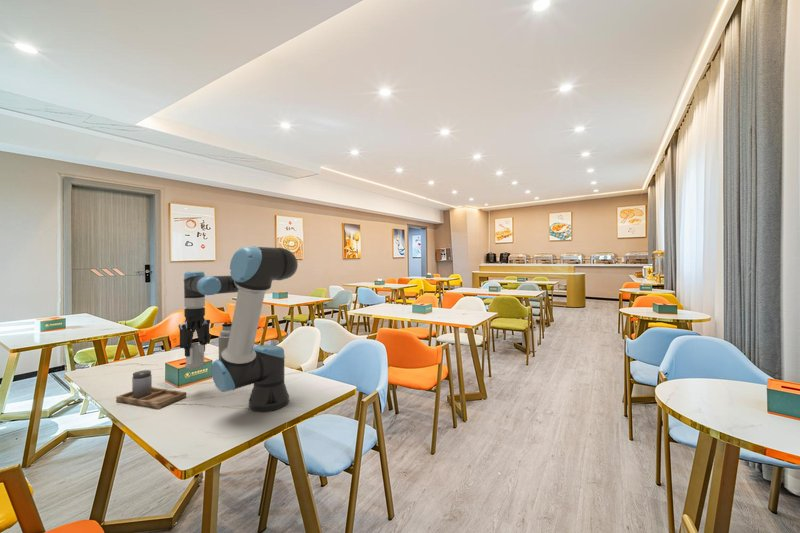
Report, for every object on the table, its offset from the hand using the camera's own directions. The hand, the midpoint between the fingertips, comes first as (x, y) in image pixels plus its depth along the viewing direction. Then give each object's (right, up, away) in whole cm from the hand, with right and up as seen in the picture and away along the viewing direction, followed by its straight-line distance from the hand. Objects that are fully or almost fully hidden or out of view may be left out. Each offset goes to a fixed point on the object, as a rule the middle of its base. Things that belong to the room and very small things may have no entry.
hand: (195, 361), depth 143 cm
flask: (0, -2, 0) cm, 2 cm away
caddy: (-15, -14, -5) cm, 21 cm away
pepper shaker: (-20, -14, -3) cm, 25 cm away
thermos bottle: (+6, -14, +15) cm, 22 cm away
